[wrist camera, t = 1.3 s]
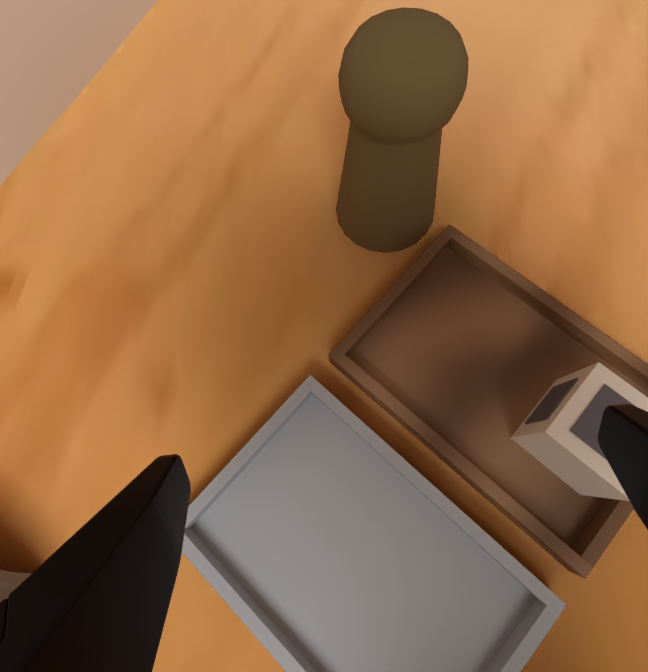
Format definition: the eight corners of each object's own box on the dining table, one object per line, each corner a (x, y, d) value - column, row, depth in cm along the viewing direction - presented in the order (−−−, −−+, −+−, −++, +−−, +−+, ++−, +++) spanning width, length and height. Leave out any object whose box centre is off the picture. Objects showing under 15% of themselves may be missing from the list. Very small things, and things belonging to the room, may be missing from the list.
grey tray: (551, 594, 20) (566, 604, 18) (411, 793, 18) (416, 822, 16) (312, 380, 23) (310, 374, 22) (177, 527, 22) (164, 532, 20)
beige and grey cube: (625, 432, 21) (687, 424, 17) (580, 494, 20) (634, 501, 17) (554, 378, 22) (598, 360, 18) (508, 436, 21) (544, 429, 18)
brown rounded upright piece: (353, 158, 27) (355, -32, 17) (445, 180, 27) (506, -6, 16) (322, 237, 26) (303, 82, 15) (419, 263, 25) (468, 118, 15)
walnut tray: (681, 408, 22) (705, 404, 20) (568, 570, 20) (585, 578, 19) (444, 237, 25) (449, 224, 24) (329, 361, 24) (328, 355, 22)
